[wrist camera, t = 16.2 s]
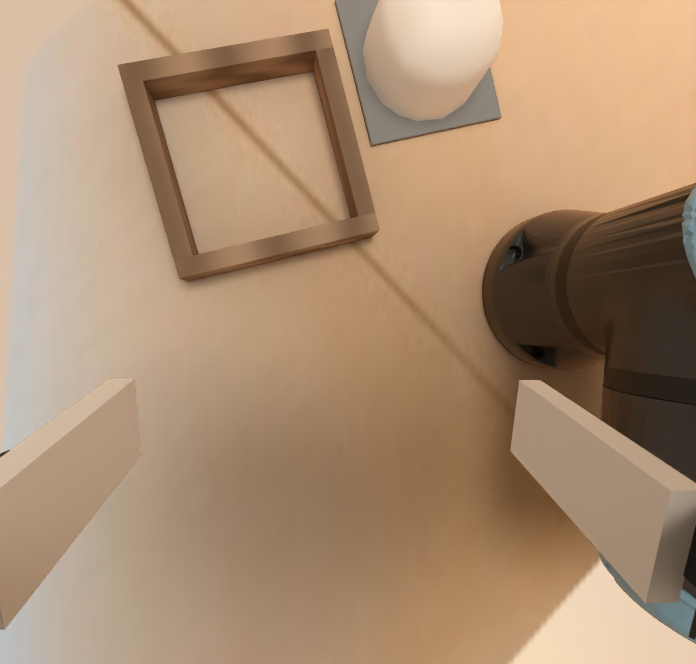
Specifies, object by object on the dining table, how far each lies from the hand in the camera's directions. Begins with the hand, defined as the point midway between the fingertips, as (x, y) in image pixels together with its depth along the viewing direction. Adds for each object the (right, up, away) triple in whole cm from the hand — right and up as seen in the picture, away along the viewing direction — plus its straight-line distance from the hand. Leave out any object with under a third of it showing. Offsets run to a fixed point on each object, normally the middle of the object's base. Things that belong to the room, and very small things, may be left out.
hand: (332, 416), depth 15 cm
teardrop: (+7, +28, +25) cm, 38 cm away
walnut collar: (-7, +18, +23) cm, 30 cm away
